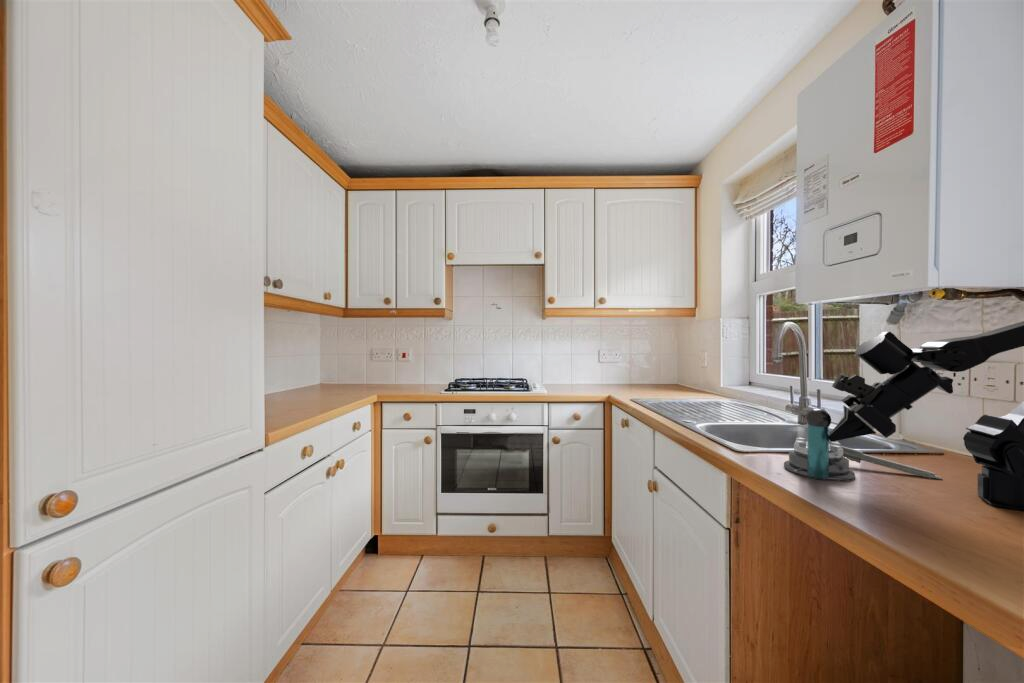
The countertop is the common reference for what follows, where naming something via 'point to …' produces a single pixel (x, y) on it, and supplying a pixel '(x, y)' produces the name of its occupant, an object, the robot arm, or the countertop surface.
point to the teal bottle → (818, 444)
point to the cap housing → (836, 468)
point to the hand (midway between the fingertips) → (829, 439)
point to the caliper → (885, 463)
